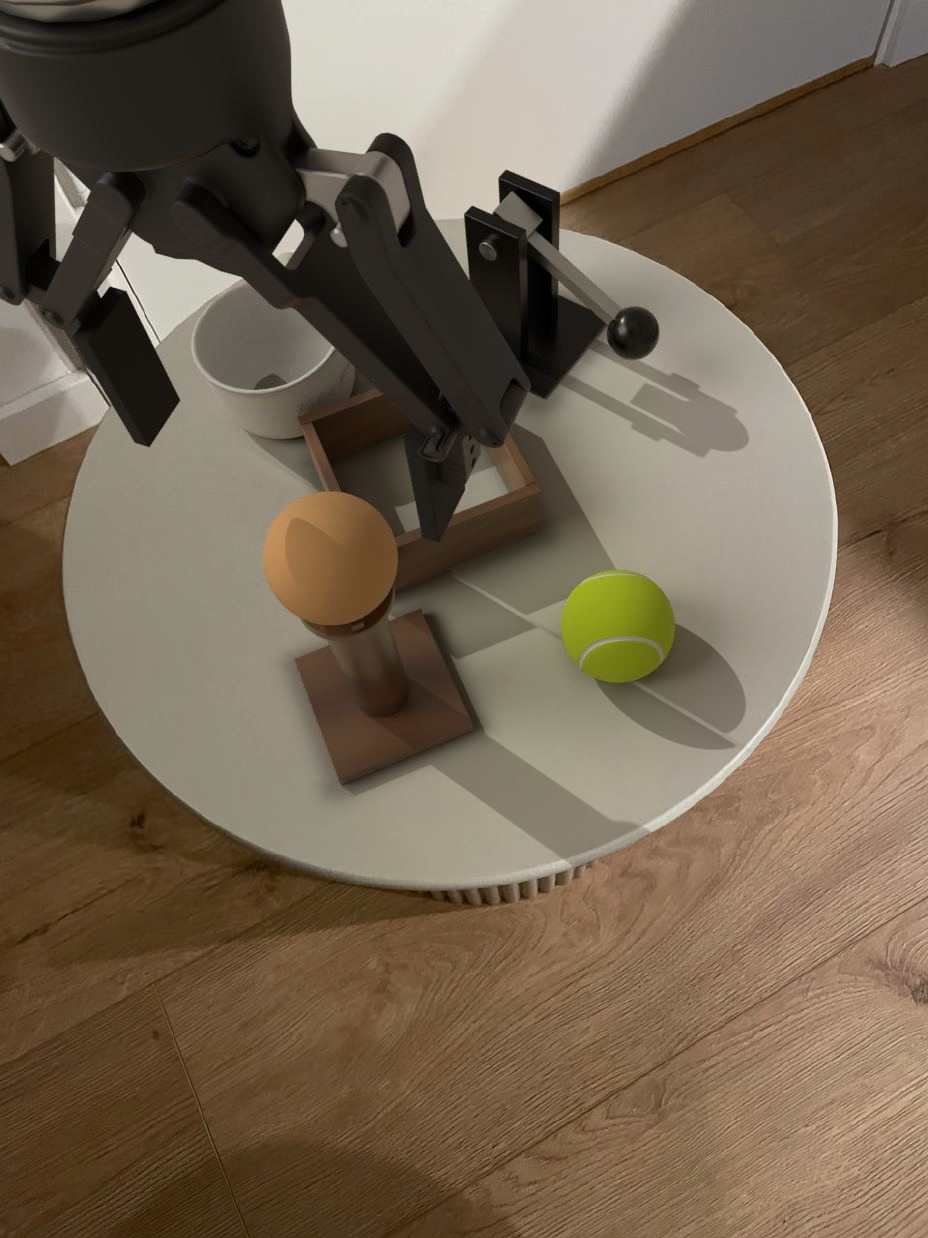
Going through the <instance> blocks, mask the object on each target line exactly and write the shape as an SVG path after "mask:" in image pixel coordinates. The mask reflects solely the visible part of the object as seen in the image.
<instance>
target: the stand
mask: <svg viewBox="0 0 928 1238" xmlns="http://www.w3.org/2000/svg"><path fill="white" fill-rule="evenodd" d="M395 599H396V594H395V589H394V584H393V585H392V587H391V589H390V591H389V593H388V595H387V596H386V598H385V599H384V600H383V601H382V603H381V604H380V605H379V606H378V607H377V608H376V609H374V610H373V611H372V612H370V613H369V614H368V615H366V616H364V617H363V618H361V619H358V620H356V621H353V622H350V623H347V624H342V625H321V624H315V623H312V622H308V621H306V620H304V619H301V618H299V620H300V621H301V623H302V624H303V626H304V627H305V628H306V629H307V630H308V631H309V632H311V633H312V634H313V635H314V636H316V637H318V638H321V639H323V640H326V641H327V644H328V645H326V646H323V647H321V648H320V647H319V648H318V649H315V650H313V651H310V652H308V653H306V654H303V655H300V656H298V657H295V658H293V664H294V666H295V669H296V671H297V674H298V677H299V679H300V682H301V684H302V688H303V690H304V694H305V695H306V698H307V701H308V704H309V707H310V709H311V712H312V714H313V717H314V721H315V723H316V725H317V729H318V731H319V734H320V736H321V738H322V742H323V745H324V748H325V750H326V753H327V755H328V759H329V761H330V764H331V767H332V769H333V771H334V774H335V777H336V781H337V782H338V784H339V785H340V786H343V785H345V784H347V783H350V782H353V781H355V780H358V779H360V778H362V777H364V776H367V775H369V774H372V773H374V772H377V771H380V770H381V769H384V768H386V767H389V766H391V765H394V764H397V763H398V762H401V761H403V760H405V759H408V758H410V757H412V756H415V755H418V754H420V753H422V752H425V751H427V750H429V749H432V748H434V747H437V746H440V745H441V744H444V743H446V742H449V741H451V740H453V739H456V738H458V737H461V736H463V735H466V734H468V733H471V732H473V731H474V730H475V729H474V724H473V722H472V720H471V717H470V715H469V713H468V710H467V708H466V705H465V704H464V701H463V699H462V697H461V695H460V692H459V690H458V688H457V686H456V683H455V681H454V679H453V677H452V675H451V672H450V670H449V668H448V666H447V663H446V661H445V659H444V657H443V655H442V652H441V650H440V648H439V646H438V643H437V641H436V639H435V637H434V635H433V632H432V630H431V628H430V625H429V623H428V621H427V618H426V617H425V613H424V612H423V610H422V609H421V608H419V609H416V610H414V611H410V612H408V613H406V614H403V615H400V616H397V617H395V618H393V619H391V620H389V616H390V615H391V612H392V609H393V607H394V604H395Z"/></svg>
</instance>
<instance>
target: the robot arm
mask: <svg viewBox="0 0 928 1238" xmlns="http://www.w3.org/2000/svg"><path fill="white" fill-rule="evenodd" d="M55 159H56V160H58V161H59V162H60V163H61V164H62V165H63V166H64V167H65V168H66V169H67V170H68V171H69V172H70V173H72V175H73V176H74V177H75V178H77V180H78V181H79V182H80V183H82V185H84V187H85V188H87V189H88V190H89V191H90V192H89V193H88V196H87V198H86V203H85V206H84V208H83V210H82V212H81V214H80V216H79V218H78V220H77V222H76V224H75V226H74V228H73V231H72V233H71V236H72V239H71V241H70V243H69V245H68V247H67V249H66V251H65V253H64V255H63V256H62V259H61V261H60V260H58V259H57V225H56V223H57V222H56V221H57V220H56V183H55V182H56V181H55ZM423 193H424V192H423V189H422V186H421V181H420V177H419V172H418V168H417V164H416V160H415V155H414V153H413V151H412V149H411V147H410V145H409V143H407V142H406V140H405V139H403V138H402V137H400V136H399V135H397V134H395V133H392V132H381V133H379V134H378V135H376V136H375V137H374V139H373V140H372V141H371V144H370V145H369V147H368V148H367V150H366V151H365V153H356V152H349V151H342V150H341V151H340V150H333V149H326V148H325V149H324V148H318V146H317V144H316V142H315V140H314V139H313V138H312V136H311V135H310V133H309V132H308V130H307V129H306V128H305V126H304V124H303V123H302V121H301V119H300V117H299V116H298V113H297V111H296V108H295V107H294V102H293V89H292V47H291V39H290V33H289V28H288V24H287V19H286V15H285V11H284V6H283V1H282V0H0V300H2V301H3V302H5V303H7V304H10V305H11V306H14V307H17V306H21V304H22V303H23V302H24V301H25V300H27V301H30V302H31V303H33V304H35V305H37V306H38V312H39V314H40V316H42V318H43V319H44V320H45V321H46V322H47V323H48V324H50V325H51V326H52V327H54V328H57V329H59V330H62V331H63V333H64V334H65V336H66V337H67V340H68V341H69V343H70V345H71V346H72V347H74V348H73V349H74V351H75V352H76V354H77V356H78V357H79V359H80V361H81V363H82V364H83V366H84V367H85V368H86V369H87V370H88V371H89V372H90V373H91V374H92V375H94V377H95V379H96V380H97V382H98V384H99V386H100V387H101V389H102V391H103V392H104V394H105V396H106V397H107V399H108V400H109V402H110V404H111V406H112V407H113V409H114V411H115V413H116V414H117V415H118V417H119V419H120V421H121V422H122V424H123V426H124V428H125V429H126V431H127V433H128V434H129V436H130V437H131V439H132V441H133V443H135V444H137V445H140V446H144V447H146V448H150V447H151V445H152V444H153V443H154V441H155V440H156V438H157V437H158V435H159V434H160V433H161V431H162V429H163V428H164V427H165V425H166V423H167V422H168V420H169V419H170V417H171V416H172V414H173V413H174V411H175V409H176V408H177V407H178V405H179V404H180V402H181V399H180V396H179V395H178V392H177V390H176V388H175V386H174V384H173V381H172V380H171V378H170V376H169V375H168V371H167V370H166V368H165V366H164V364H163V362H162V360H161V358H160V356H159V354H158V351H157V350H156V348H155V346H154V344H153V341H152V339H151V338H150V336H149V334H148V332H147V330H146V328H145V326H144V324H143V321H142V320H141V318H140V316H139V314H138V312H137V310H136V307H135V305H134V303H133V301H132V299H131V297H130V296H129V294H128V292H127V290H124V289H121V288H117V287H114V286H110V285H109V287H108V288H107V289H106V291H105V292H104V293H103V294H102V296H101V295H100V294H99V291H98V290H99V289H100V287H101V286H102V285H103V283H104V282H105V281H106V279H107V278H108V276H109V275H110V274H111V272H112V271H113V266H114V265H115V263H116V261H117V259H118V258H119V256H120V255H121V253H122V251H123V250H124V248H125V246H126V244H127V243H128V241H129V239H130V238H131V236H132V234H133V235H135V236H137V238H138V239H141V240H142V241H143V242H145V243H148V244H149V245H151V247H152V249H153V252H154V253H155V254H157V255H160V256H164V257H168V258H171V259H175V260H192V261H197V262H200V263H202V264H204V265H206V266H208V267H210V268H212V269H214V270H217V271H218V272H221V273H226V274H229V275H233V276H236V277H240V278H242V279H243V280H244V281H246V282H247V283H248V284H249V285H250V286H252V287H253V288H254V289H255V290H256V291H257V292H258V293H259V294H260V295H261V296H262V297H263V298H264V299H265V300H266V301H267V302H268V303H269V304H270V305H272V306H273V307H275V308H276V309H280V310H283V309H287V308H293V309H295V310H296V311H297V312H298V313H299V314H300V315H302V316H303V317H304V318H305V319H306V320H307V321H308V322H309V323H310V324H311V325H312V326H313V327H314V328H315V329H316V330H317V331H318V332H319V333H320V334H321V335H322V336H323V337H324V338H325V339H326V340H327V341H328V342H329V343H330V344H331V345H332V346H333V347H335V348H336V349H337V350H338V351H339V352H340V353H341V354H342V355H343V356H344V357H345V358H346V359H347V360H348V361H349V362H350V363H351V364H352V365H353V366H354V367H355V370H357V372H359V373H360V374H361V375H362V376H363V377H364V378H365V379H366V380H367V381H368V382H369V383H370V384H371V385H372V386H373V387H374V388H377V389H378V390H379V391H380V392H381V393H382V394H383V395H384V396H385V397H386V398H387V399H388V400H389V401H390V402H391V403H392V404H393V405H394V406H395V407H396V408H397V409H399V410H400V411H401V412H402V413H403V414H404V415H405V416H406V417H407V418H408V419H409V420H410V421H411V424H410V426H409V428H408V430H407V432H406V433H404V435H403V437H402V440H403V445H404V452H405V456H406V461H407V466H408V472H409V477H410V482H411V488H412V493H413V497H414V501H415V507H416V513H417V517H418V524H419V528H421V533H422V537H424V538H427V539H430V540H433V541H436V542H440V540H441V538H442V536H443V534H444V532H445V530H446V528H447V526H448V524H449V522H450V520H451V518H452V516H453V514H455V512H456V510H457V507H458V506H459V503H460V501H461V499H462V497H463V495H464V493H465V491H466V484H467V483H468V480H469V479H470V476H471V474H472V472H473V470H474V468H475V467H476V464H477V462H478V460H479V459H480V456H481V454H482V448H481V446H484V447H485V446H487V447H490V448H498V447H501V446H502V445H503V444H504V442H505V440H506V438H507V436H508V434H509V432H510V433H511V430H512V427H513V425H514V423H515V421H516V419H517V417H518V416H519V413H520V411H521V409H522V407H523V405H524V403H525V401H526V399H527V396H528V394H529V393H530V392H529V390H530V386H531V384H530V381H529V379H528V377H527V376H526V374H525V372H524V371H523V369H522V367H521V366H520V364H519V362H518V361H517V359H516V357H515V356H514V354H513V352H512V351H511V349H510V347H509V346H508V344H507V342H506V341H505V339H504V337H503V336H502V334H501V332H500V330H499V329H498V327H497V325H496V324H495V322H494V320H493V319H492V317H491V315H490V314H489V312H488V310H487V309H486V307H485V305H484V304H483V302H482V300H481V299H480V297H479V295H478V294H477V292H476V290H475V289H474V287H473V285H472V284H471V282H470V280H469V276H468V275H467V273H466V271H465V270H464V269H463V267H462V264H460V262H459V260H458V258H457V257H456V255H455V253H454V251H453V250H452V248H451V247H450V245H449V243H448V242H447V240H446V238H445V237H444V235H443V233H442V232H441V230H440V228H439V227H438V225H437V223H436V221H435V220H434V218H433V216H432V215H431V213H430V211H429V210H428V208H427V206H426V201H425V198H424V194H423ZM295 221H296V222H297V223H298V224H299V225H300V227H301V228H302V230H303V237H302V240H301V241H300V242H299V244H298V246H297V247H296V249H295V250H294V252H292V253H293V255H292V256H291V258H290V260H289V261H288V263H287V264H286V266H284V265H283V264H282V263H281V262H280V261H279V260H278V259H277V256H275V255H274V252H275V251H276V249H277V248H278V247H279V245H280V243H281V241H282V240H283V239H284V237H285V235H286V234H287V232H288V231H289V230H290V228H291V226H292V225H293V224H294V222H295Z"/></svg>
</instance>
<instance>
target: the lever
mask: <svg viewBox="0 0 928 1238" xmlns="http://www.w3.org/2000/svg"><path fill="white" fill-rule="evenodd" d="M491 214H493V215H495V216H497V217H499V218H501V219H504V220H506V221H508V222H510V223H513V224H515V225H517V226H519V227H522V228H524V229H526V232H527V253H528V254H529V255H531V256H532V257H533V258H534V259H535V260H536V261H537V262H538V263H539V264H540V265H542V266H543V267H544V268H545V269H546V270H547V271H548V272H549V273H550V274H552V275H553V276H554V277H555V278H556V279H557V280H558V283H560V284H562V286H564V288H566V289H567V290H568V291H569V292H570V293H571V294H572V295H573V296H575V297H576V298H577V299H578V300H579V301H580V302H581V303H582V304H584V306H585V307H586V308H588V309H590V310H591V311H593V312H594V313H595V314H596V315H597V316H598V317H599V318H600V319H601V320H602V321H604V322H605V323H606V324H605V325H607V330H606V341H607V343H608V347H609V349H610V350H611V351H612V352H613V354H614V355H616V357H618V358H620V359H622V360H626V361H632V362H633V361H640V360H642V359H644V358H646V357H648V356H649V355H650V354H651V353H652V352H653V351H654V350H655V348H656V347H657V345H658V343H659V339H660V334H661V330H660V325H659V324H660V323H659V322H658V319H657V318H656V316H655V315H654V313H652V312H651V311H650V310H649V309H647V308H645V307H642V306H638V305H633V306H627V307H624V308H622V307H621V306H620V305H619V304H617V303H616V302H615V300H613V299H612V298H611V297H610V296H609V295H608V294H606V293H605V292H604V291H603V290H602V289H601V288H600V287H599V286H598V285H597V284H595V283H594V282H593V281H592V280H591V279H590V278H589V277H588V276H587V275H585V273H583V272H582V271H581V270H580V269H579V268H578V267H577V266H575V264H573V262H571V261H570V260H569V259H568V258H567V257H565V255H563V254H562V253H561V252H560V250H559V251H558V250H557V249H556V248H554V247H553V246H552V245H551V244H550V243H549V242H548V241H547V240H546V239H545V238H543V237H542V236H541V235H540V234H539V233H538V232H537V231H536V230H537V228H538V227H539V225H540V224H541V222H542V221H543V219H542V218H541V217H540V216H539V215H538V214H537V213H536V212H535V211H534V210H533V209H532V208H530V207H529V206H528V205H527V204H526V203H525V202H524V201H523V200H522V199H521V198H519V197H518V196H517V195H516V194H515V193H514V192H513V191H512V192H510V194H509V195H508V196H507V197H506V198H505V199H504V200H503V201H502V202H501V203H500V204H499V203H498V205H497V206H496V207H495V208H494V209H493V211H492V213H491Z"/></svg>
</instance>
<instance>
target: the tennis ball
mask: <svg viewBox="0 0 928 1238" xmlns="http://www.w3.org/2000/svg"><path fill="white" fill-rule="evenodd" d="M675 633H676V620H675V614H674V609H673V608H672V605H671V602H670V600H669V599H668V596H667V595H666V594H665V592H664V591H663V590H662V588H661V587H660V586H659V585H658V584H657V583H656V582H655V581H653V580H651V579H650V578H649V577H647V576H645V575H644V574H642V573H639V572H635V571H631V570H627V569H609V570H604V571H600V572H597V573H595V574H592V575H590V576H589V577H587V578H585V579H584V580H582V581H581V582H580V583H579V584H577V585H576V586H575V588H574V589H573V590H572V592H571V593H570V594H569V596H568V597H567V599H566V602H565V604H564V606H563V609H562V613H561V618H560V634H561V640H562V643H563V646H564V649H565V652H566V653H567V656H568V657H569V659H570V660H571V661H572V663H573V664H574V665H575V666H576V667H577V668H578V669H580V670H581V672H583V673H584V674H586V675H588V676H589V677H592V678H594V679H596V680H599V681H602V682H605V683H606V682H607V683H615V684H621V683H622V684H623V683H629V682H633V681H636V680H639V679H642V678H644V677H646V676H648V675H649V674H651V673H652V672H654V671H655V670H656V669H658V668H659V667H660V665H662V663H663V662H664V661H665V659H666V658H667V657H668V655H669V653H670V651H671V648H672V646H673V643H674V638H675Z"/></svg>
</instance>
